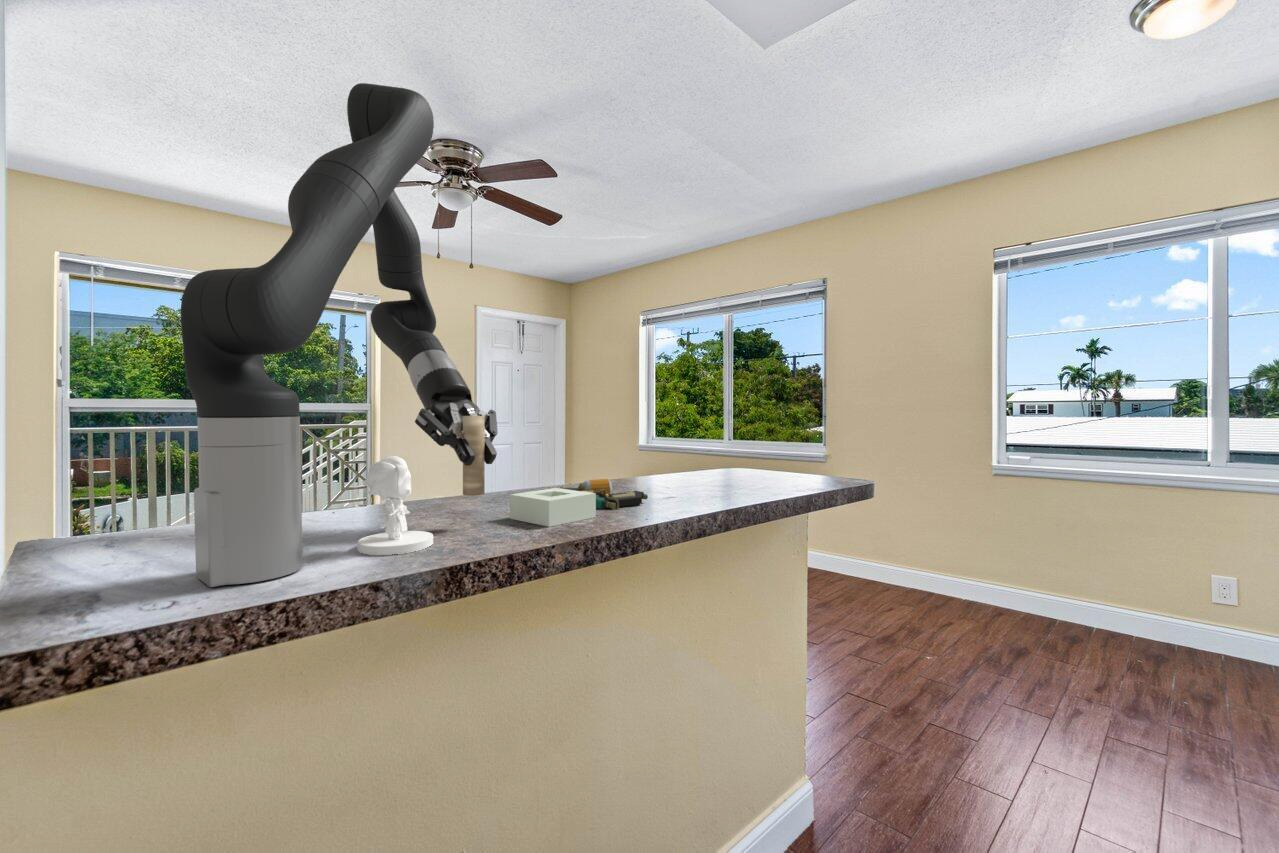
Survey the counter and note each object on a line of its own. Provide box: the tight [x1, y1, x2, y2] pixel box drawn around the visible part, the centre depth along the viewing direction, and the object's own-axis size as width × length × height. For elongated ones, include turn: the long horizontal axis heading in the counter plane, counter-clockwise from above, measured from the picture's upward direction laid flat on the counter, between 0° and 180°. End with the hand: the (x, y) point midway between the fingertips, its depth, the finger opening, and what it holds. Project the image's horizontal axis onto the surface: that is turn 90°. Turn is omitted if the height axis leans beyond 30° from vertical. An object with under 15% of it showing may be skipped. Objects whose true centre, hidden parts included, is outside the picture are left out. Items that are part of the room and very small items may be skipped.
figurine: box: [357, 455, 434, 556], centre depth 74 cm, size 9×9×12 cm
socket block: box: [509, 487, 597, 528], centre depth 93 cm, size 10×10×4 cm
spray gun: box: [559, 478, 649, 510], centre depth 108 cm, size 4×17×15 cm
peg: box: [462, 416, 486, 497], centre depth 86 cm, size 3×3×12 cm
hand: (481, 460), depth 85 cm, fingers closed on peg, 3 cm apart
